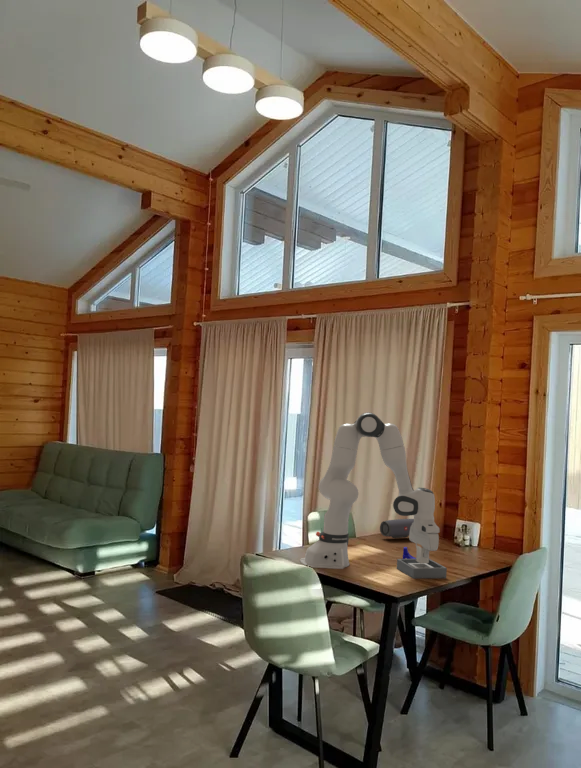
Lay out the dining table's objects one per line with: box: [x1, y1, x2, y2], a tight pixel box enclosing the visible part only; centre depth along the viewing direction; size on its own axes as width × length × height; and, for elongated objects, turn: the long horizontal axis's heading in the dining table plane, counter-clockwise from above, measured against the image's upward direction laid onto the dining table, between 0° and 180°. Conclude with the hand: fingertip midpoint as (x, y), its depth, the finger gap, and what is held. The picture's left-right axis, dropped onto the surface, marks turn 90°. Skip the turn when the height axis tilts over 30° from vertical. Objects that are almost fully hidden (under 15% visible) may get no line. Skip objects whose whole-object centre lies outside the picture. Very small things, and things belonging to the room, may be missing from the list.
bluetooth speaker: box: [379, 518, 414, 539], centre depth 365 cm, size 23×9×10 cm, turn 121°
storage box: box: [396, 558, 448, 579], centre depth 290 cm, size 16×16×5 cm
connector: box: [415, 543, 430, 563], centre depth 290 cm, size 4×4×8 cm
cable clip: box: [402, 546, 416, 559], centre depth 313 cm, size 12×4×6 cm, turn 74°
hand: (422, 556), depth 290 cm, fingers closed on connector, 4 cm apart
